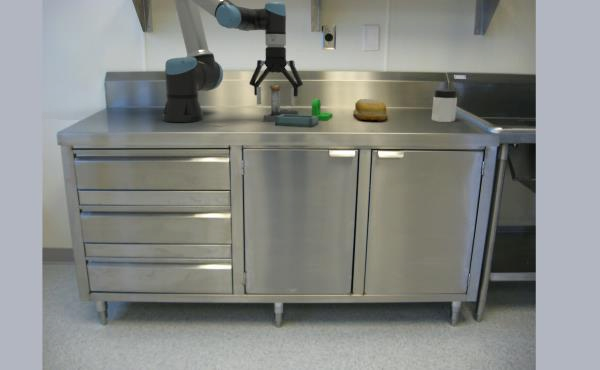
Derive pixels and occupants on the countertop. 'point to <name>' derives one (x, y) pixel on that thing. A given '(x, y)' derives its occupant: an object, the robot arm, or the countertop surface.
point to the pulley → (288, 111)
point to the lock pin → (275, 100)
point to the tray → (296, 120)
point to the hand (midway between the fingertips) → (275, 105)
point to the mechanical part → (316, 111)
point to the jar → (444, 105)
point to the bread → (370, 110)
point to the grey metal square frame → (269, 118)
